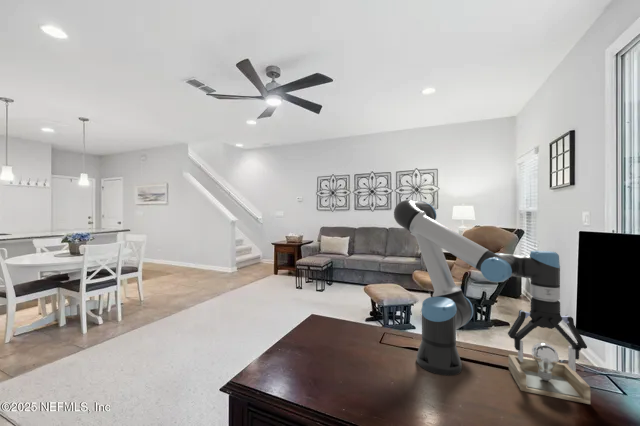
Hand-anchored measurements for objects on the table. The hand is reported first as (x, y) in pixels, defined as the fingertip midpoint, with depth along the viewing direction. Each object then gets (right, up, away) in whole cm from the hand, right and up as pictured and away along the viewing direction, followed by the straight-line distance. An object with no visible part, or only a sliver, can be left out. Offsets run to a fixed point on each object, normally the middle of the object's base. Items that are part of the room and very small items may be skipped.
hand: (545, 364), depth 90 cm
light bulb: (0, -6, 0) cm, 6 cm away
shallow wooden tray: (0, -7, 0) cm, 7 cm away
